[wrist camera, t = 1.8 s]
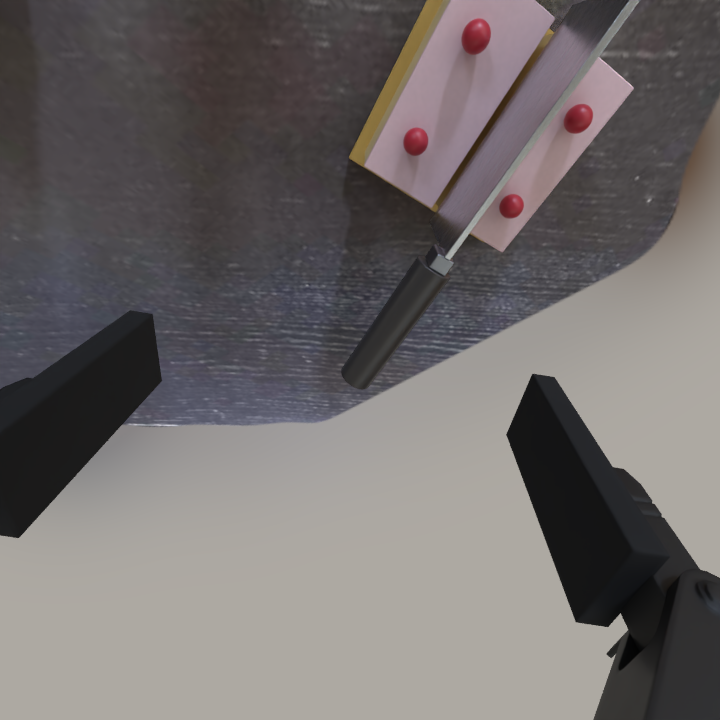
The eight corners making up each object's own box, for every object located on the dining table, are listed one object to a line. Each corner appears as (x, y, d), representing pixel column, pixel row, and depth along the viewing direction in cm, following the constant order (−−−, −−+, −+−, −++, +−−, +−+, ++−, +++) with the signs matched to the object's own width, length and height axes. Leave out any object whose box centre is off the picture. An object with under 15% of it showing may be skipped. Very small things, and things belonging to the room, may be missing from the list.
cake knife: (368, 341, 35) (369, 394, 29) (344, 329, 34) (340, 381, 28) (590, 20, 22) (670, 0, 16) (559, -8, 22) (631, -40, 16)
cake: (481, 239, 37) (508, 278, 30) (349, 156, 33) (344, 177, 26) (601, 79, 30) (675, 79, 23) (451, -51, 26) (484, -99, 19)
